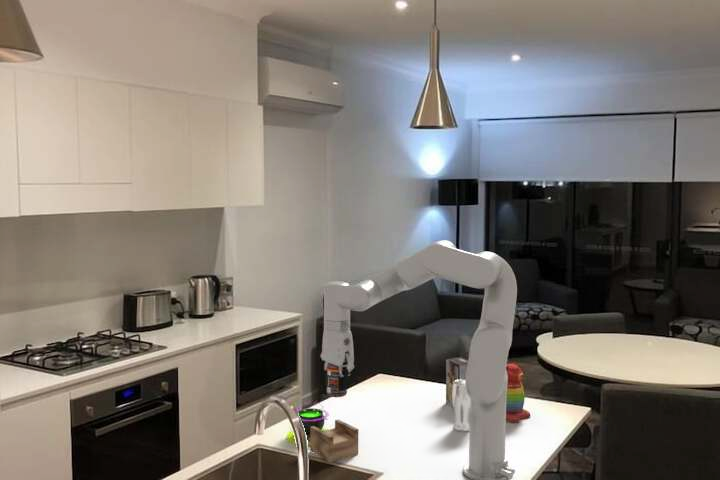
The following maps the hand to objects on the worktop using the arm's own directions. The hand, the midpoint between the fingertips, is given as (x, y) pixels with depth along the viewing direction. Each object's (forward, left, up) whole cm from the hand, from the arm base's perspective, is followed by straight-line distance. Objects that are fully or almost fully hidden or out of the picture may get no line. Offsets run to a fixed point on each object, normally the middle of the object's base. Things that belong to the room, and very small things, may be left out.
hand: (336, 385), depth 191 cm
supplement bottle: (0, 0, -3) cm, 3 cm away
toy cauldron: (+15, -1, -20) cm, 25 cm away
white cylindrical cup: (-9, -43, -20) cm, 48 cm away
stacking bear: (-11, -64, -20) cm, 68 cm away
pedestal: (0, +1, -20) cm, 20 cm away
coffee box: (+7, -58, -20) cm, 62 cm away
